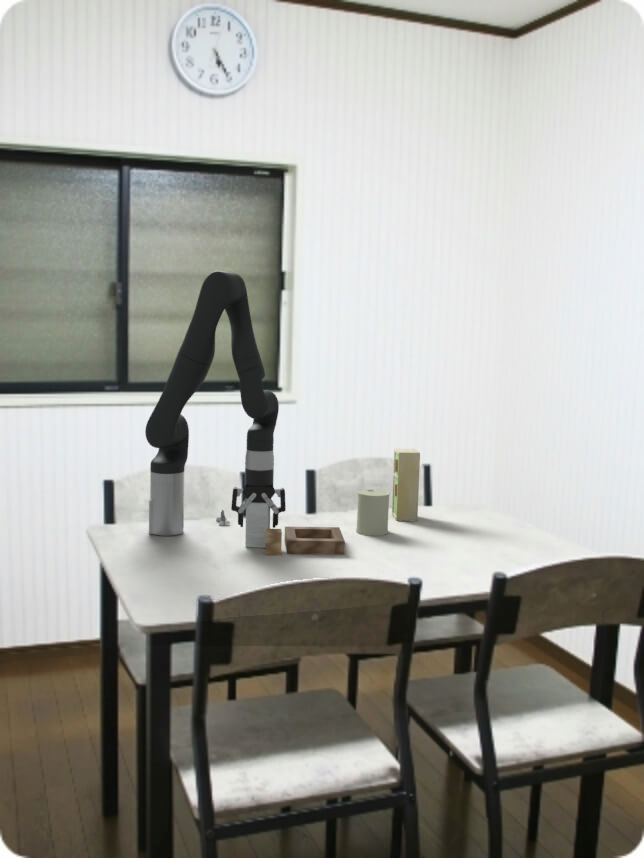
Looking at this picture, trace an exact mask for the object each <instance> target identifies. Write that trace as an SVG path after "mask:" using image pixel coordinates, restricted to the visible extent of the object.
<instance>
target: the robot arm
mask: <svg viewBox="0 0 644 858" xmlns="http://www.w3.org/2000/svg"><path fill="white" fill-rule="evenodd" d="M247 291H248V290H247V286H246V282H245V281H244V278H243V277H242V276H241V275H240V274H238V273H236V272H233V271H224V270H215V271H212V272H210V273H209V274H208V275H207V276H205V278H204V280H203V282H202V285H201V288H200V290H199V294H198V298H197V301H196V305H195V309H194V312H193V315H192V318H191V321H190V322H189V325H188V327H187V330H186V333H185V336H184V338H183V340H182V342H181V345H180V346H179V349H178V352H177V355H176V357H175V359H174V362H173V365H172V368H171V371H170V373H169V375H168V378H167V381H166V383H165V385H164V389H163V390H162V392H161V394H160V397H159V399H158V401H157V402H156V405H155V407H154V409H153V410H152V413H151V414H150V416H149V418H148V420H147V422H146V426H145V431H144V432H145V439H146V440H147V443H148V444H149V445H150V446H151V447H153V448H156V449H158V452H157V453H156V455H155V457H154V458H152V460H151V461H150V467H149V468H150V470H149V471H150V475H149V477H150V478H149V479H150V480H149V481H150V484H149V485H150V486H149V488H150V491H149V496H150V497H149V500H148V535H155V536H163V537H164V536H166V537H167V536H178V535H181V534H183V533H184V528H185V527H184V526H185V525H184V524H185V523H184V522H185V521H184V519H185V514H184V513H185V511H184V510H185V467H186V463H187V461H188V455H189V439H190V437H189V436H190V433H189V431H190V429H189V424H188V421H187V420H186V418H185V416H183V414H182V412H183V410H184V407H185V406H186V404H187V403H188V401H189V400H190V399H191V398H192V397H193V395H194V394H195V393H196V392H197V391H198V390H199V388H200V387H201V385H202V384H203V383H204V381H205V380H206V377H207V376H208V373H209V371H210V368H211V366H212V363H213V360H214V357H215V352H216V332H217V327H218V324H219V322H220V319H221V318H222V314H223V312H224V310H225V312H226V315H227V318H228V321H229V326H230V331H231V332H230V333H231V335H230V336H231V338H230V339H231V341H230V346H231V347H230V348H231V356H232V360H233V363H234V368H235V370H236V373H237V376H238V379H239V391H240V392H239V393H240V400H241V406H242V408H243V411H244V413H245V414H246V415H247V416H248V417H249V418H251V419H253V421H252V425H251V426H250V427H249V429H247V432H246V451H245V459H244V460H245V462H244V487H243V488H239V487H237V486H234V487H233V488H232V494H231V496H232V497H231V507H230V508H231V511H233V512H235V513H237V524H238V525H239V526H240V528H243V527H244V511H246V508H247V507H248V505H249V504H250V503H268V504H269V507H270V510H271V511H272V529H276V527H277V526H278V525H279V514H280V513H284V512H286V491H285V488H284V487H281V488H276V489H275V488H274V475H275V473H274V471H275V470H274V469H275V467H274V466H275V455H274V442H275V441H274V433H275V429H276V427H277V420H278V415H279V407H280V406H279V405H280V404H279V400H278V397H277V395H276V394H275V393H274V392H273V391H271V390H269V389H267V390H266V389H264V385H263V380H264V379H265V377H266V372H265V368H264V364H263V361H262V358H261V356H260V355H261V354H260V352H259V349H258V345H257V342H256V337H255V333H254V332H255V331H254V328H253V322H252V316H251V311H250V305H249V299H248V298H249V297H248V292H247ZM241 494H243V495H244V497H245V499H244V500H243V501H242V503H241V504H240V506H238V505H237V500H238V497H240V496H241ZM275 494H276V495H277V497H278V498H279V500H280V506H277V505H276V504H275V503H274V500H273V499H272V498H273V497H274V496H275ZM247 502H248V503H247Z"/></svg>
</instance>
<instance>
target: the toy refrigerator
mask: <svg viewBox="0 0 644 858" xmlns="http://www.w3.org/2000/svg"><path fill="white" fill-rule="evenodd" d="M420 461H421V453H420V451H419V450H417V449H415V448H394V450H393V472H392V473H393V474H392V500H391V501H392V502H391V503H392V504H391V515H392V517H393V518H394V519H395V520H396V522H397V521H401V522H403V521H405V522H406V521H408V522H409V521H411V522H412V521H414V522H416V521H418V519H419V518H418V517H419V516H418V514H419V512H418V511H419V490H420V489H419V488H420V485H419V484H420V465H421V464H420V463H421V462H420Z"/></svg>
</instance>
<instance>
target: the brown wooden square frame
mask: <svg viewBox="0 0 644 858" xmlns="http://www.w3.org/2000/svg"><path fill="white" fill-rule="evenodd" d="M284 545H285V550H286V551H285V552H286V554H289V555H291V554H293V555H345V549H346V548H345V547H346V541H345V538H344V536H343V533H342V530H341V528H340V527H338V526H284Z"/></svg>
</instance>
